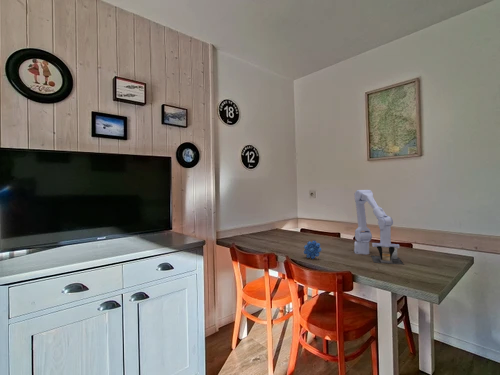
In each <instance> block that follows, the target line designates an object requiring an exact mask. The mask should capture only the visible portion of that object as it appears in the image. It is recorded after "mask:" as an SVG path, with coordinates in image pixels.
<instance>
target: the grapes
mask: <svg viewBox="0 0 500 375" xmlns="http://www.w3.org/2000/svg"><path fill="white" fill-rule="evenodd" d="M320 252H322V247H321V243H320V242H317V241H316V240H312V241H307V243H306V244H305V245H304V246H303V254H304V255H305V256H306V258H307V259H309V258H311V260H314V259H315V258H316V257H318V258H319V256H320Z"/></svg>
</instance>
